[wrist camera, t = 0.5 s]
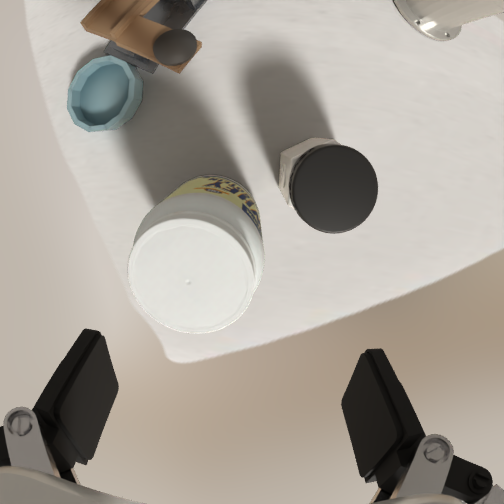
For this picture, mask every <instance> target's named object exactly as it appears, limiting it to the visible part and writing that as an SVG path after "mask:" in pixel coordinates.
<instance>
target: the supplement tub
mask: <svg viewBox="0 0 504 504" xmlns="http://www.w3.org/2000/svg"><path fill="white" fill-rule="evenodd" d="M264 262H265V252H264V246H263V240H262V232H261V223H260V214H259V210H258V207H257V204H256V202H255V200H254V199H253V197H252V196H251V194H250V193H249V192H248V191H247V190H246V189H245V188H244V187H243V186H242V185H240V184H239V183H237V182H236V181H234V180H232V179H229V178H226V177H223V176H218V175H204V176H199V177H196V178H193V179H190V180H188V181H187V182H185V183H183V184H182V185H181V186H180V187H178V188H177V189H176V190H175V191H174V192H173V193H171V194H170V195H169V196H168V197H166V198H165V199H164V200H163V201H162V202H160V203H159V204H158V205H156V206H155V207H154V208H153V209H152V210H151V211H150V212H149V213H148V214H147V215H146V216H145V218H144V219H143V221H142V222H141V224H140V226H139V228H138V230H137V233H136V236H135V239H134V244H133V248H132V251H131V253H130V256H129V260H128V269H127V271H128V280H129V285H130V288H131V291H132V293H133V295H134V297H135V299H136V300H137V302H138V303H139V305H140V306H141V308H142V309H143V310H144V311H145V312H146V313H147V314H148V315H149V316H150V317H152V318H153V319H154V320H156V321H157V322H159V323H160V324H162V325H164V326H166V327H168V328H171V329H173V330H176V331H180V332H185V333H195V334H199V333H209V332H213V331H217V330H220V329H222V328H225V327H226V326H228V325H230V324H232V323H233V322H234V321H236V320H237V319H238V318H239V317H240V316H241V315H242V314H243V313H244V311H245V310H246V309H247V307H248V305H249V303H250V301H251V299H252V295H253V293H254V291H255V290H256V288H257V286H258V284H259V282H260V280H261V277H262V273H263V269H264Z"/></svg>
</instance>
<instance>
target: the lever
mask: <svg viewBox="0 0 504 504" xmlns="http://www.w3.org/2000/svg"><path fill="white" fill-rule="evenodd" d="M158 1H160V0H101V1H100V2H99V3H98V4H97V5H96V6H95V7H94V8H93V9H92V10H91V11H90V12H89V13H88V14H87V16H86V17H85V18H84V19H83V20H82V21H81V22H80V23H81V24H82V26H83V27H84V29H85V30H86V31H87V32H90V33H93V34H96V35H98V36H101V37H104V38H106V39H109V40H112V41H114V42H115V43H116V44H117V46H119V47H122V48H124V49H127V50H129V51H131V52H134V53H136V54H138V55H141V56H143V57H145V58H147V59H149V60H152V61H154V62H156V63H158V64H160V65H162V66H164V67H167V68H169V69H171V70H173V71H175V72H177V73H179V74H180V72H181V71H182V70H183V69H184V67H185V66H186V65H187V64H188V62H189V61H190V60H191V59H192V58H193V56H194V55H195V54H196V53H197V52H198V51H199V49H200V48H201V47H202V42H200V41H198V40H196V38H195V36H194V35H193V34H192V33H191V32H189V31H187V30H183V29H171V28H169V27H166V26H164V25H161V24H159V23H156V22H153V21H151V20H148V19H145V18H143V16H144V15H145V14H146V13H147V12H148V11H149V10H150V9H151V8H152V7H153V6H154V5H155V4H156V3H157V2H158Z"/></svg>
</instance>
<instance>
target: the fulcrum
mask: <svg viewBox="0 0 504 504" xmlns="http://www.w3.org/2000/svg"><path fill="white" fill-rule="evenodd" d="M206 1H207V0H160V1H158V2H157V3H156V4H155V5H154V6H153V7H152V8H151V9H150V10H149V11H148V12H147V13H146V14H145V15H144V16H143V18H145V19H148V20H151V21H153V22H156V23H159V24H161V25H164V26H166V27H169V28H171V29H183V30H184V28H185V27H186V26H187V25H188V23H189V22H190V21H191V19H192V18H193V17H194V16H195V14H196V13H197V12H198V11H199V10H200V8H201V7H202V6H203V5H204V4H205V2H206ZM104 52H105V53H107V54H109V55H112V56H114V57H117V58H119V59H121V60H123V61H126V62H128V63H130V64H132V65H135V66H137V67H139V68H141V69H143V70H145V71H148V72H150V73H152V74H153V73H154V71H155V70H156V68H157V67H158V65H159V64H158V63H156V62H154V61H152V60H149V59H147V58H145V57H143V56H141V55H138V54H136V53H134V52H131V51H129V50H127V49H124V48H122V47H119V46H117V44H116V43H115V42H114V41H112V40H111V41H110V42H109V44H108V45H107V47H106V49H105V50H104Z"/></svg>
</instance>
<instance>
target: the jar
mask: <svg viewBox="0 0 504 504" xmlns="http://www.w3.org/2000/svg"><path fill="white" fill-rule="evenodd" d="M278 187H279V189H280V191H281V193H282V195H283V197H284V198H285V200H286V202H287V204H288V206H290V207H291V208H293V209H294V210H296V211H297V214H298V215H299V216H300V217H301V219H302V220H303V221H305V222H306V223H307V224H308V225H309V226H311V227H312V228H314V229H316V230H319V231H321V232H325V233H343V232H346V231H349V230H352V229H354V228H356V227H357V226H359V225H360V224H361V223H362V222H363V221H365V219H366V218H367V217H368V216H369V215H370V213H371V211H372V210H373V208H374V205H375V203H376V199H377V195H378V182H377V177H376V174H375V171H374V169H373V167H372V165H371V164H370V162H369V161H368V160H367V158H366V157H365V156H364V155H362V154H361V153H360V152H358V151H357V150H355V149H353V148H351V147H348V146H344V145H341V144H340V143H338V142H337V141H336V140H334V139H326V138H314V137H313V138H310V139H308V140H306V141H304V142H301V143H299V144H297V145H295V146H293V147H291V148H289V149H286V150H284V151H282V152H281V157H280V172H279V186H278Z"/></svg>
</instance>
